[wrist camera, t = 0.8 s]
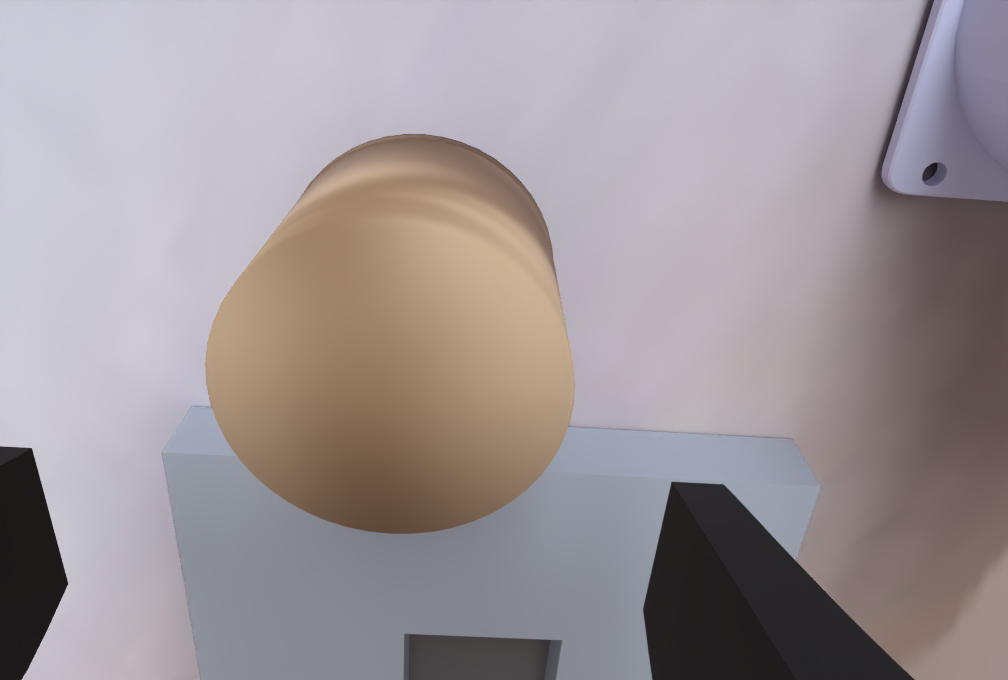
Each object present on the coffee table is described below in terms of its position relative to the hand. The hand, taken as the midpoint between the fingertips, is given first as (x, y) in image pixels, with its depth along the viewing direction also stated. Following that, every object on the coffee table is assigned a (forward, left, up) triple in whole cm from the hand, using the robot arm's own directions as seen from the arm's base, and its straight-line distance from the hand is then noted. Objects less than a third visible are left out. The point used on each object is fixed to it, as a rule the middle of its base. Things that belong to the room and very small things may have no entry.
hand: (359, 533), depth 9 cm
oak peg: (0, 0, -10) cm, 10 cm away
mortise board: (-2, +13, -10) cm, 16 cm away
